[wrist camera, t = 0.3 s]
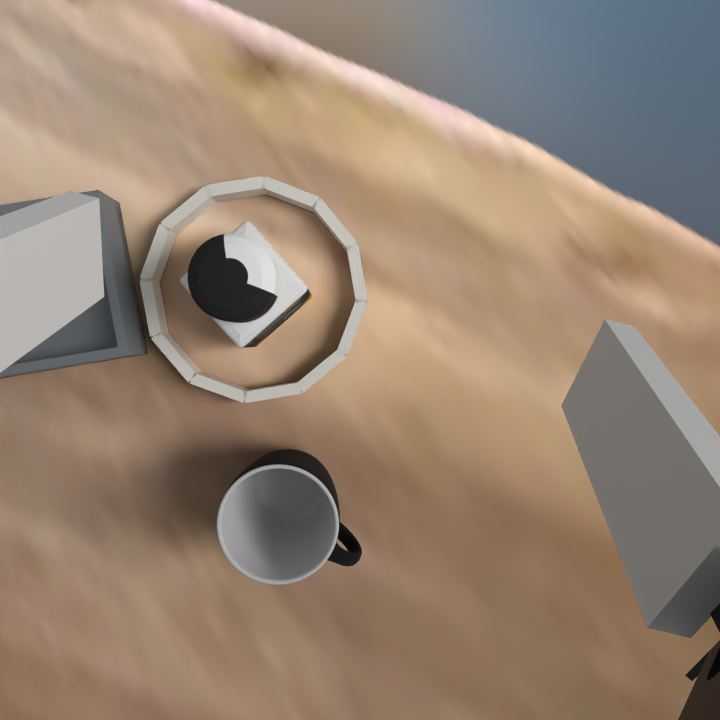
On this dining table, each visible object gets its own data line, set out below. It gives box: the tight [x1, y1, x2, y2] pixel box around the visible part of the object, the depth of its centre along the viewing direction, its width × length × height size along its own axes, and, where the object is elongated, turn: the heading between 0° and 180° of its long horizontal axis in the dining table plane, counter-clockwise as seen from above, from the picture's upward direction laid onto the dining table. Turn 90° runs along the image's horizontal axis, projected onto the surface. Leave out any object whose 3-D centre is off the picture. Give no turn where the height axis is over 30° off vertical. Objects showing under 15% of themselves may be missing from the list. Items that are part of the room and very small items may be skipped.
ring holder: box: [139, 176, 367, 403], centre depth 46 cm, size 19×19×2 cm
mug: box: [217, 449, 362, 585], centre depth 43 cm, size 12×9×10 cm
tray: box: [0, 190, 147, 378], centre depth 44 cm, size 14×14×4 cm
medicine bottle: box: [180, 221, 312, 348], centre depth 41 cm, size 7×7×12 cm
